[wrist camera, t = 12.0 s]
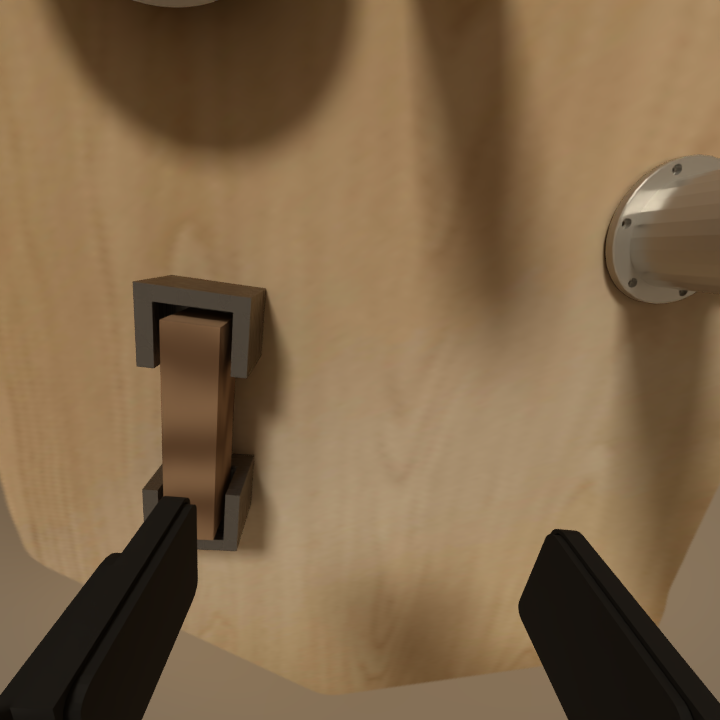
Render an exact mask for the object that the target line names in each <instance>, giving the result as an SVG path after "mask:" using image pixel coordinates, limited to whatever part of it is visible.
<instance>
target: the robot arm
mask: <svg viewBox="0 0 720 720" xmlns="http://www.w3.org/2000/svg"><path fill="white" fill-rule="evenodd" d="M605 255H606V263H607V268H608V271H609V274H610V277H611V279H612V280H613V282H614V283H615V285H616V287H617V288H618V289H619V290H621V291H622V292H623V293H624V294H625V295H627V296H629V297H630V298H632V299H634V300H638V301H641V302H647V303H654V304H663V303H671V302H675V301H679V300H682V299H684V298H686V297H689V296H691V295H693V294H694V293H696V292H705V293H713V294H720V159H719V158H716V157H714V156H710V155H700V154H699V155H691V156H685V157H681V158H677V159H674V160H670V161H668V162H666V163H663V164H661V165H659V166H657V167H655V168H654V169H652V170H651V171H650V172H648V173H647V174H645V175H644V176H643V177H642V178H641V179H640V180H638V181H637V182H636V183H635V184H634V185H633V186H632V187H631V189H630V190H629V191H628V193H627V194H626V195H625V196H624V198H623V199H622V201H621V202H620V204H619V206H618V208H617V209H616V211H615V213H614V216H613V218H612V221H611V223H610V226H609V230H608V234H607V239H606V252H605ZM197 582H198V570H197V506H196V505H193V504H190V499H189V498H186V497H174V496H164V497H162V498H161V499H160V501H159V502H158V503H157V505H156V506H155V508H154V509H153V510H152V512H151V513H150V514H149V516H148V517H147V519H146V520H145V521H144V523H143V524H142V526H141V527H140V528H139V530H138V531H137V532H136V534H135V535H134V537H133V538H132V539H131V541H130V542H129V544H128V545H127V546H126V548H125V549H124V550H123V552H122V553H112V554H111V555H109V556H108V557H106V558H105V559H104V561H103V562H102V563H101V564H100V565H99V566H98V568H97V569H96V570H95V572H94V573H93V574H92V576H91V577H90V578H89V580H88V581H87V582H86V584H85V585H84V586H83V587H82V589H81V590H80V591H79V593H78V594H77V596H76V597H75V598H74V599H73V601H72V602H71V603H70V605H69V606H68V607H67V608H66V610H65V611H64V612H63V614H62V615H61V616H60V618H59V619H58V620H57V622H56V623H55V624H54V625H53V627H52V628H51V629H50V631H49V632H48V633H47V635H46V636H45V637H44V639H43V640H42V641H41V642H40V644H39V645H38V646H37V648H36V649H35V650H34V652H33V653H32V654H31V656H30V657H29V658H28V660H27V661H26V662H25V663H24V665H23V666H22V667H21V669H20V670H19V671H18V673H17V674H16V675H15V677H14V678H13V679H12V680H11V682H10V683H9V684H8V686H7V687H6V688H5V690H4V691H3V692H2V694H1V695H0V720H142V718H143V715H144V713H145V711H146V709H147V706H148V704H149V701H150V699H151V697H152V694H153V692H154V690H155V687H156V685H157V683H158V680H159V678H160V676H161V673H162V671H163V668H164V666H165V664H166V662H167V659H168V657H169V655H170V652H171V650H172V648H173V645H174V643H175V641H176V638H177V636H178V634H179V631H180V629H181V627H182V624H183V622H184V620H185V617H186V615H187V613H188V610H189V608H190V606H191V603H192V601H193V598H194V596H195V592H196V588H197ZM518 608H519V614H520V617H521V620H522V622H523V624H524V626H525V628H526V631H527V633H528V635H529V637H530V639H531V641H532V643H533V645H534V648H535V650H536V652H537V654H538V656H539V658H540V660H541V663H542V665H543V667H544V669H545V671H546V673H547V675H548V677H549V680H550V682H551V683H552V686H553V688H554V690H555V692H556V695H557V696H558V699H559V701H560V703H561V705H562V707H563V709H564V712H565V713H566V716H567V718H568V720H720V703H719V702H718V701H717V699H716V698H715V697H714V696H713V695H712V693H711V692H710V691H709V690H708V688H707V687H706V686H705V685H704V683H703V682H702V681H701V680H700V679H699V677H698V676H697V675H696V674H695V672H694V671H693V670H692V669H691V668H690V666H689V665H688V664H687V663H686V661H685V660H684V659H683V658H682V657H681V655H680V654H679V653H678V652H677V650H676V649H675V648H674V647H673V646H672V644H671V643H670V642H669V641H668V639H667V638H666V637H665V636H664V634H663V633H662V632H661V631H660V629H659V628H658V627H657V626H656V625H655V623H654V622H653V621H652V620H651V618H650V617H649V616H648V615H647V614H646V612H645V611H644V610H643V609H642V607H641V606H640V605H639V604H638V602H637V601H636V600H635V599H634V598H633V596H632V595H631V594H630V593H629V591H628V590H627V589H626V588H625V587H624V585H623V584H622V583H621V582H620V580H619V579H618V578H617V577H616V575H615V574H614V573H613V572H612V571H611V569H610V568H609V567H608V566H607V564H606V563H605V562H604V561H603V560H602V558H601V557H600V556H599V555H598V553H597V552H596V551H595V550H594V548H593V547H592V546H591V545H590V544H589V542H588V541H587V540H586V539H585V537H584V536H583V535H582V534H581V533H580V532H578V531H573V530H561V529H554V530H553V531H552V532H551V534H549V535H547V536H546V538H545V541H544V543H543V545H542V548H541V550H540V553H539V555H538V557H537V560H536V562H535V565H534V567H533V569H532V572H531V574H530V577H529V579H528V581H527V584H526V586H525V589H524V591H523V593H522V596H521V598H520V601H519V605H518Z"/></svg>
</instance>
